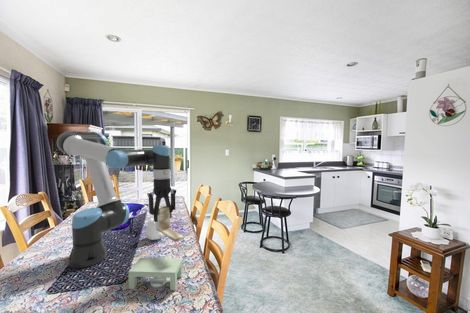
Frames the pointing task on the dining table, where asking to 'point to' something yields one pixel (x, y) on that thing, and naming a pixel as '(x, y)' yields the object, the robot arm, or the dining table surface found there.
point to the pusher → (167, 225)
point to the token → (158, 282)
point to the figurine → (152, 230)
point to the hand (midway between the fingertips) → (163, 226)
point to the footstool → (156, 270)
